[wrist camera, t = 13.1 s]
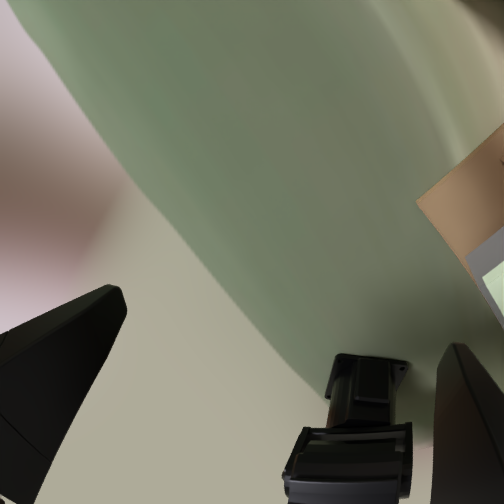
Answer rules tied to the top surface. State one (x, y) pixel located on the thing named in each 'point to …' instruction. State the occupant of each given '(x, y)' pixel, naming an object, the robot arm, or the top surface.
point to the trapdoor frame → (470, 199)
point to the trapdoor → (490, 271)
